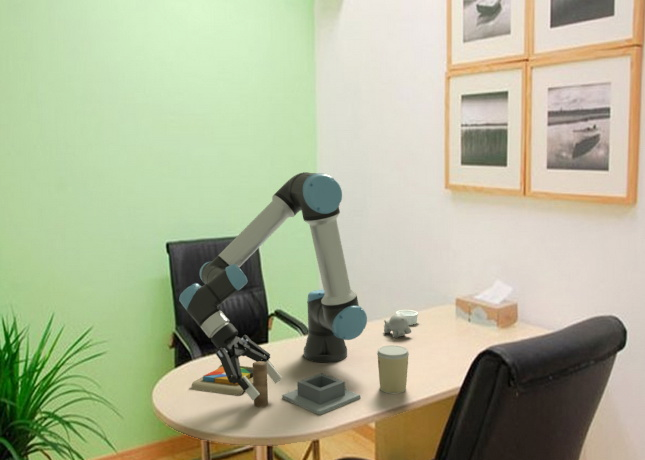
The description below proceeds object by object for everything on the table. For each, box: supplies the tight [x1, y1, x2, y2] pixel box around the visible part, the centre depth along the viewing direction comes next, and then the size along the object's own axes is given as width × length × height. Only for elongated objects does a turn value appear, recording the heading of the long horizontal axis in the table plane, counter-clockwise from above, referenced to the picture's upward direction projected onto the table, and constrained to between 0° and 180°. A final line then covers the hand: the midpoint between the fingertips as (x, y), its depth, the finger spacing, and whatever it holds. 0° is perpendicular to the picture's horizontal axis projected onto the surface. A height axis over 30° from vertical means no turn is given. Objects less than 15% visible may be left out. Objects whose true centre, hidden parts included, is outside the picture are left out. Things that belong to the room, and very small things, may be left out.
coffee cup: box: [376, 344, 410, 395], centre depth 188 cm, size 9×9×12 cm
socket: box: [281, 372, 361, 416], centre depth 183 cm, size 16×16×5 cm
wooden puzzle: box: [191, 364, 253, 396], centre depth 197 cm, size 18×19×4 cm
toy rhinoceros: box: [383, 313, 412, 339], centre depth 240 cm, size 7×12×8 cm, turn 37°
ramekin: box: [395, 309, 419, 326], centre depth 256 cm, size 9×9×4 cm
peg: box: [252, 361, 269, 408], centre depth 179 cm, size 4×4×12 cm
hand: (268, 388), depth 178 cm, fingers open, 12 cm apart
